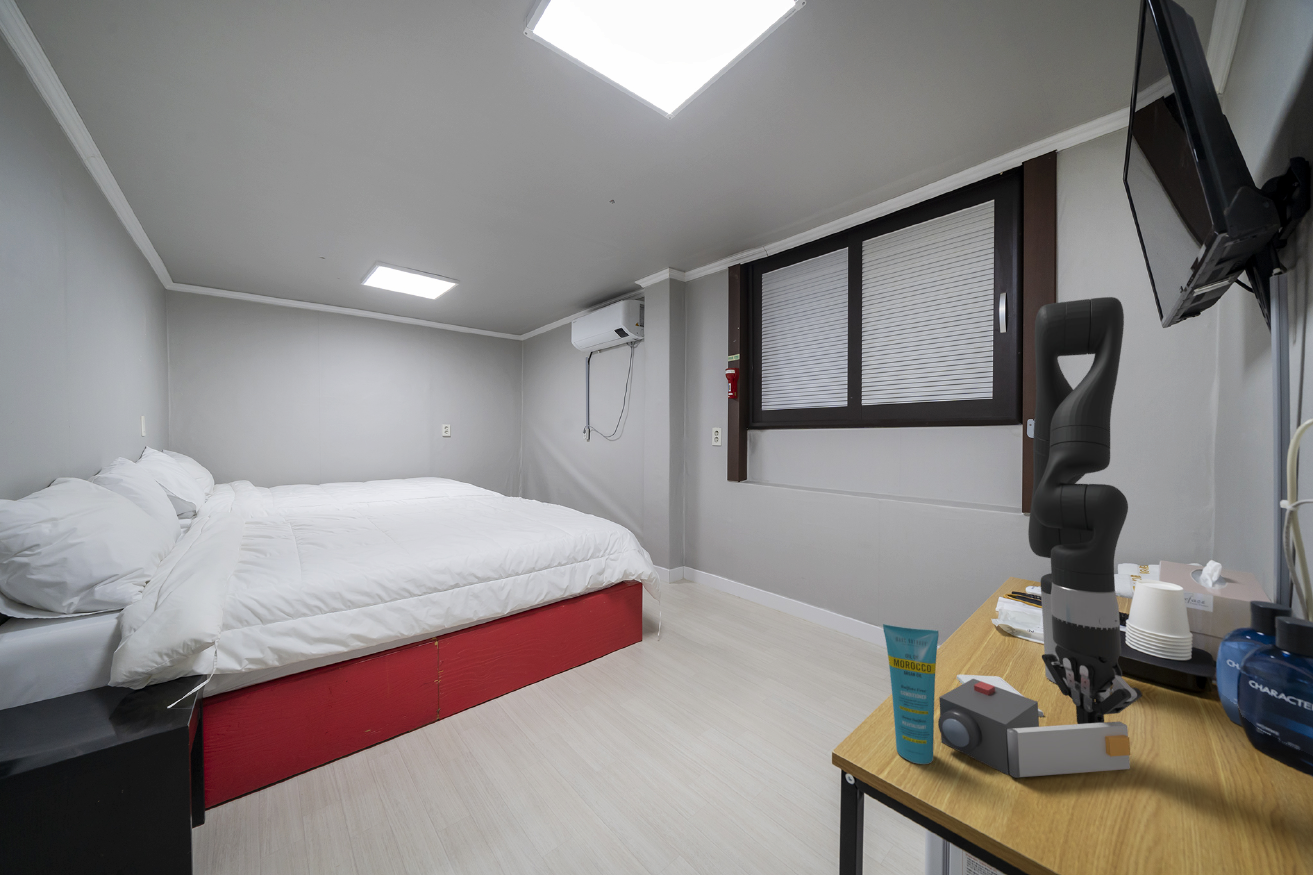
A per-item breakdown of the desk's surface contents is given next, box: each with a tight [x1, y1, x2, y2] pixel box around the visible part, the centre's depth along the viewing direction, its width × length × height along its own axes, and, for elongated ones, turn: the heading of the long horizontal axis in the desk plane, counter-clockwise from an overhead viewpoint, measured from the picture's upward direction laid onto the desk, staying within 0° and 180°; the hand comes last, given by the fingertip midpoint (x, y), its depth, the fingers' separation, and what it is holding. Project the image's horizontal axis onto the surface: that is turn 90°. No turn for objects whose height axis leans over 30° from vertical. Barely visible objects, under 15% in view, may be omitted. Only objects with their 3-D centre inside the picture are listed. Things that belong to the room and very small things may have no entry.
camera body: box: [937, 679, 1040, 776], centre depth 71 cm, size 13×9×8 cm
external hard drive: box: [956, 674, 1045, 718], centre depth 86 cm, size 2×8×12 cm
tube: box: [882, 623, 939, 765], centre depth 70 cm, size 7×5×19 cm, turn 69°
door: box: [1007, 720, 1131, 779], centre depth 65 cm, size 18×2×6 cm, turn 94°
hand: (1090, 733), depth 68 cm, fingers closed
